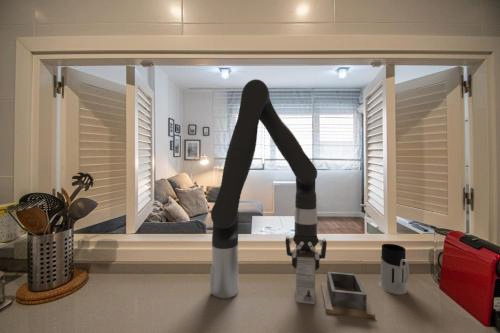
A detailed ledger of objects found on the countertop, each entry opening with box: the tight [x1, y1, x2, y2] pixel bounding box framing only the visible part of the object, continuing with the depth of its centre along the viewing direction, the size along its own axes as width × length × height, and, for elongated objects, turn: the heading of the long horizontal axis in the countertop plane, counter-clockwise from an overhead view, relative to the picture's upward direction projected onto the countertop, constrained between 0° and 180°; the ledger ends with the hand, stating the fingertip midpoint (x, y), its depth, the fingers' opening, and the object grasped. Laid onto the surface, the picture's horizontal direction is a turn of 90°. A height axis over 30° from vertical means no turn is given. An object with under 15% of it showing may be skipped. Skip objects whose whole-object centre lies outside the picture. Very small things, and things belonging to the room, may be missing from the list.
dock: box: [320, 271, 376, 320], centre depth 80 cm, size 14×16×6 cm
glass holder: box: [378, 243, 410, 295], centre depth 84 cm, size 9×14×15 cm, turn 174°
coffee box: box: [295, 250, 316, 305], centre depth 82 cm, size 9×6×16 cm
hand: (305, 268), depth 82 cm, fingers closed on coffee box, 6 cm apart
